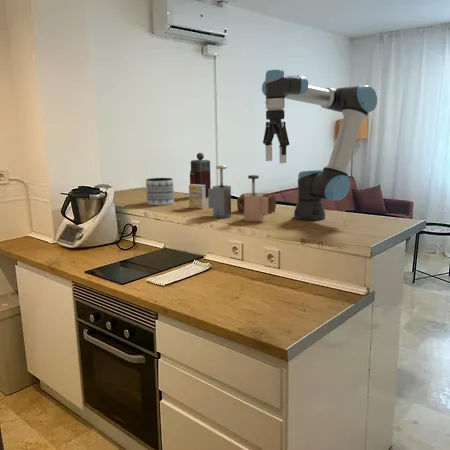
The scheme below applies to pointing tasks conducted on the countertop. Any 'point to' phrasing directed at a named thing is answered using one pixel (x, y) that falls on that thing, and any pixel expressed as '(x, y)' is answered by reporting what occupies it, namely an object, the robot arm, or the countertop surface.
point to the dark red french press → (200, 172)
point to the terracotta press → (255, 207)
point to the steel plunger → (221, 174)
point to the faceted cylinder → (220, 201)
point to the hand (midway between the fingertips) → (275, 162)
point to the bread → (270, 196)
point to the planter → (160, 191)
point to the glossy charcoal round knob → (253, 182)
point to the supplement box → (197, 196)
